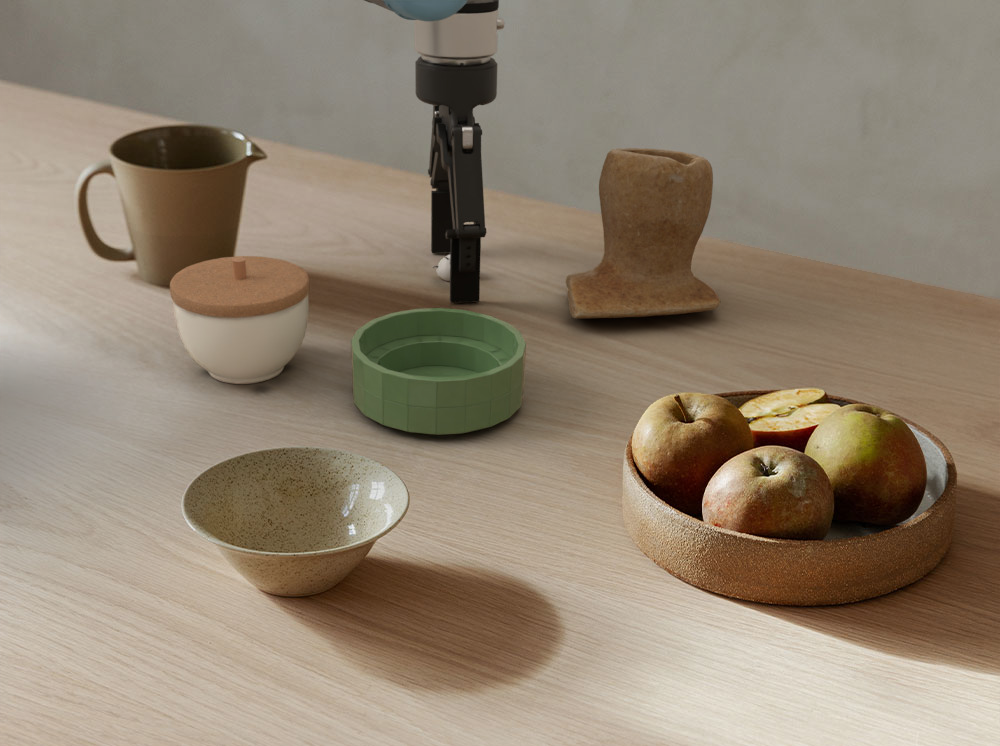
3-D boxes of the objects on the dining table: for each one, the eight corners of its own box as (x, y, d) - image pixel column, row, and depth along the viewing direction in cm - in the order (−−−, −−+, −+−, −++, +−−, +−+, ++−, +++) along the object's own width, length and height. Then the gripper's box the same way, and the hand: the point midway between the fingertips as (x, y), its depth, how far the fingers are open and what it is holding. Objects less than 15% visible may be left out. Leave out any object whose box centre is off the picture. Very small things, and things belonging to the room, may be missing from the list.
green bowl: (359, 447, 79) (358, 385, 77) (347, 367, 91) (346, 311, 89) (538, 436, 82) (542, 375, 80) (504, 359, 93) (507, 304, 91)
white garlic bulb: (476, 280, 109) (477, 255, 108) (438, 284, 108) (438, 259, 107) (466, 269, 112) (466, 245, 111) (428, 273, 111) (428, 248, 110)
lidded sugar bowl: (165, 352, 92) (154, 246, 88) (289, 332, 97) (284, 230, 93) (196, 408, 84) (185, 293, 80) (331, 383, 88) (327, 273, 84)
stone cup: (682, 278, 112) (699, 131, 105) (732, 325, 102) (754, 165, 95) (539, 287, 109) (547, 135, 102) (575, 336, 98) (587, 171, 92)
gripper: (524, 84, 90) (515, 322, 100) (474, 33, 112) (470, 232, 122) (433, 85, 89) (433, 326, 98) (401, 33, 111) (402, 234, 120)
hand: (453, 275), depth 110 cm, fingers open, 13 cm apart
